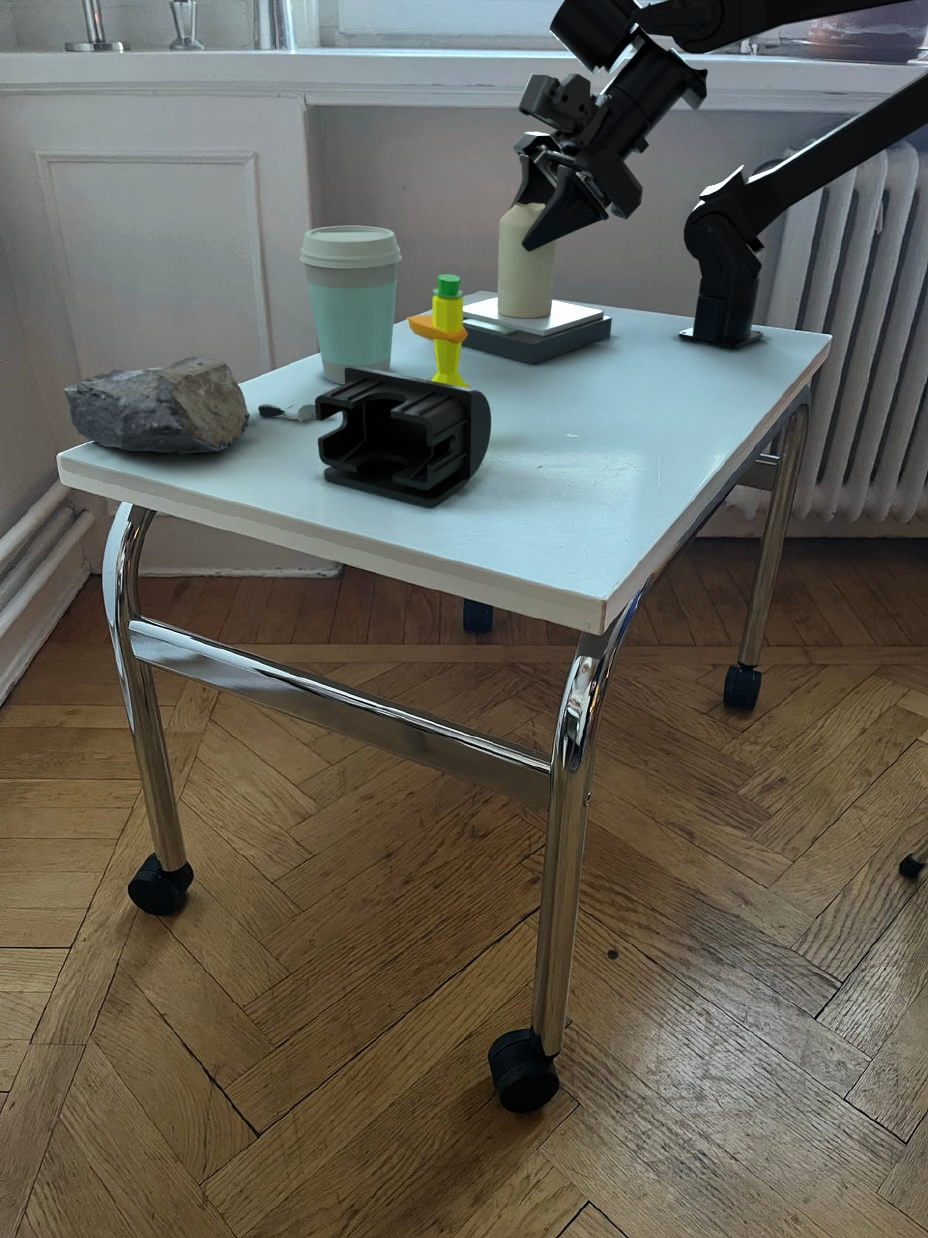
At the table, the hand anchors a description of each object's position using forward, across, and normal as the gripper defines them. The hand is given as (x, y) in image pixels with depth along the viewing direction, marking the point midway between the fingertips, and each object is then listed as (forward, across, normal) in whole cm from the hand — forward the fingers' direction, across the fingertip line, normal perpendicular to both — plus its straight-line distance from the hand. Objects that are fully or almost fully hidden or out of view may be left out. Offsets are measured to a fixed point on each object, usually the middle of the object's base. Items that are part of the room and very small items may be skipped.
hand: (513, 242), depth 88 cm
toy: (+25, +18, -12) cm, 33 cm away
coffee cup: (+19, +7, -6) cm, 21 cm away
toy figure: (+17, +24, -4) cm, 30 cm away
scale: (+6, 0, +8) cm, 9 cm away
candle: (+4, 0, +6) cm, 7 cm away
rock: (+34, +20, -20) cm, 44 cm away
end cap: (+20, +30, -7) cm, 37 cm away
